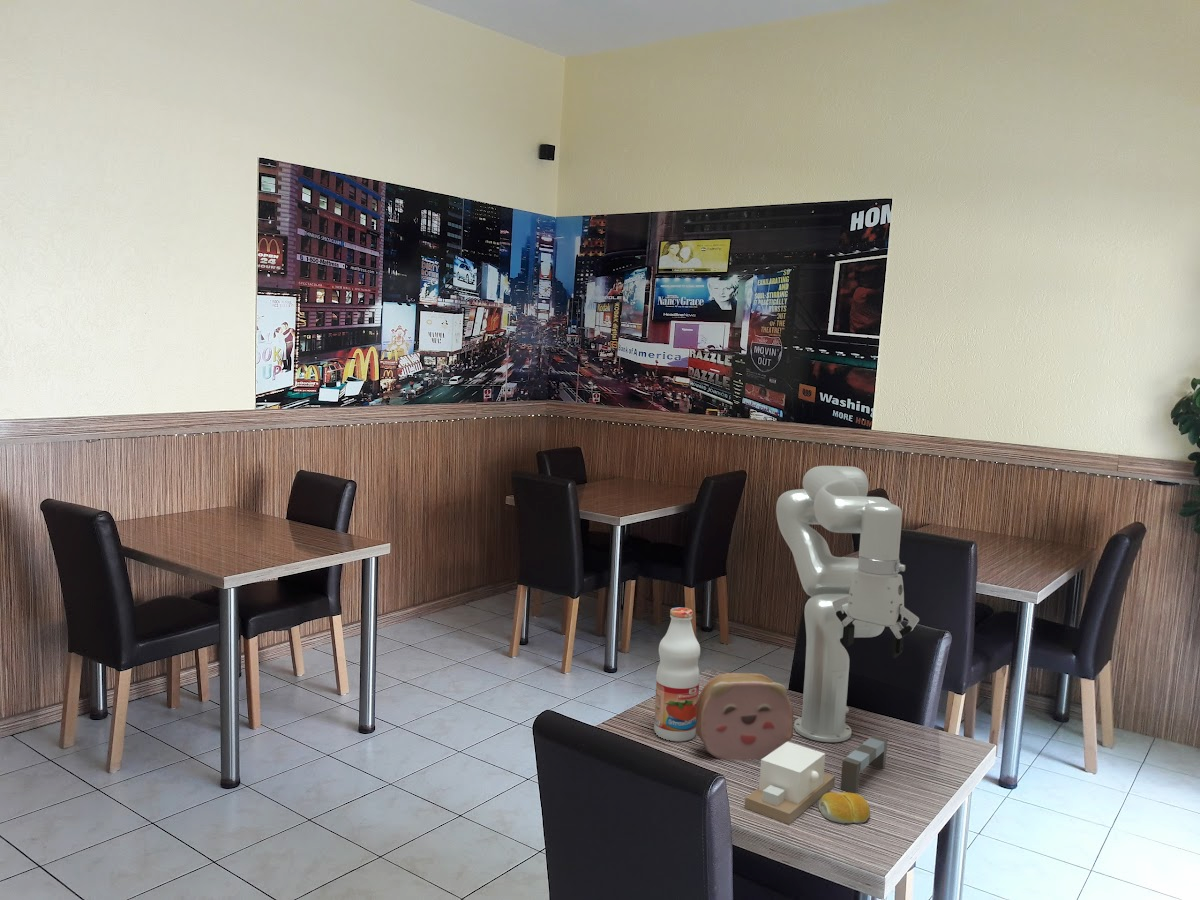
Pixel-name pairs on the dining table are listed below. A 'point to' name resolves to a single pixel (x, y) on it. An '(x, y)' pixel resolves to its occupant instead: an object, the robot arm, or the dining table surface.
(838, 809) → the bread roll
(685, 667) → the fruit juice
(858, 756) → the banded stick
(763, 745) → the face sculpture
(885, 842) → the dining table surface
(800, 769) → the white block on board
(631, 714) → the dining table surface
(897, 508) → the robot arm
